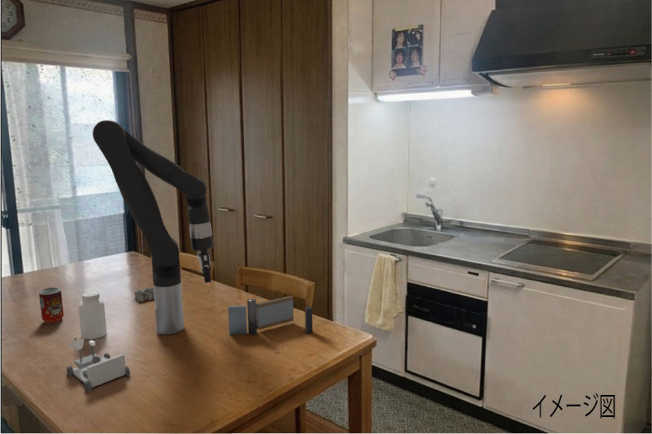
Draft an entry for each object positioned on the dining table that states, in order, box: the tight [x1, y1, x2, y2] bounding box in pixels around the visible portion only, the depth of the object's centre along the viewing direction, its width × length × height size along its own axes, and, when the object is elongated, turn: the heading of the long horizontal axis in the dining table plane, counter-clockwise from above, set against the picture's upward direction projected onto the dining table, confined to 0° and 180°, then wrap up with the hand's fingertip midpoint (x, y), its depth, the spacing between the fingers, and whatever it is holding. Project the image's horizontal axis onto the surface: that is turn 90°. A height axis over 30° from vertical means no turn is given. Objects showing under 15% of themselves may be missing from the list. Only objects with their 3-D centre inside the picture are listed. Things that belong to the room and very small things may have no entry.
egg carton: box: [133, 287, 154, 302], centre depth 200 cm, size 11×8×4 cm
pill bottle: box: [78, 291, 107, 340], centre depth 162 cm, size 8×8×15 cm
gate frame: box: [227, 298, 314, 336], centre depth 164 cm, size 29×3×12 cm, turn 92°
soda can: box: [38, 286, 64, 325], centre depth 175 cm, size 7×7×12 cm
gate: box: [256, 295, 294, 331], centre depth 168 cm, size 14×1×9 cm, turn 124°
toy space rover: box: [66, 337, 131, 393], centre depth 137 cm, size 18×10×12 cm
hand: (206, 278), depth 169 cm, fingers open, 8 cm apart
